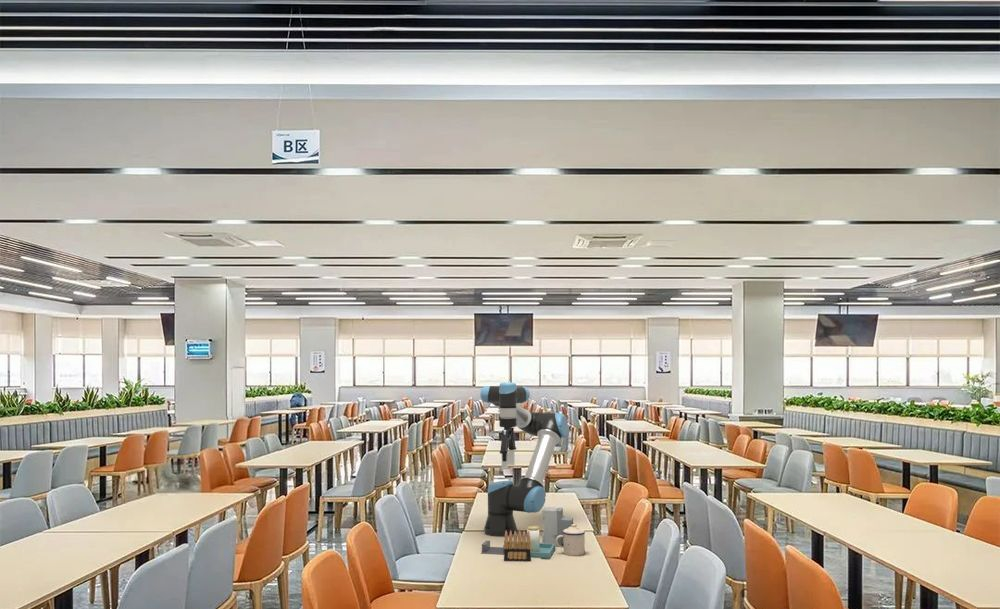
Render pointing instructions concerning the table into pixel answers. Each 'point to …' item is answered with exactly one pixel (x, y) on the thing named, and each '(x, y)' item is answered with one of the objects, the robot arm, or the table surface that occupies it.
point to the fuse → (534, 538)
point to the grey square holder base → (492, 549)
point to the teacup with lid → (573, 541)
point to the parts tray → (543, 551)
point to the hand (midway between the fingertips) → (508, 466)
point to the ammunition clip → (522, 549)
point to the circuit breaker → (554, 525)
